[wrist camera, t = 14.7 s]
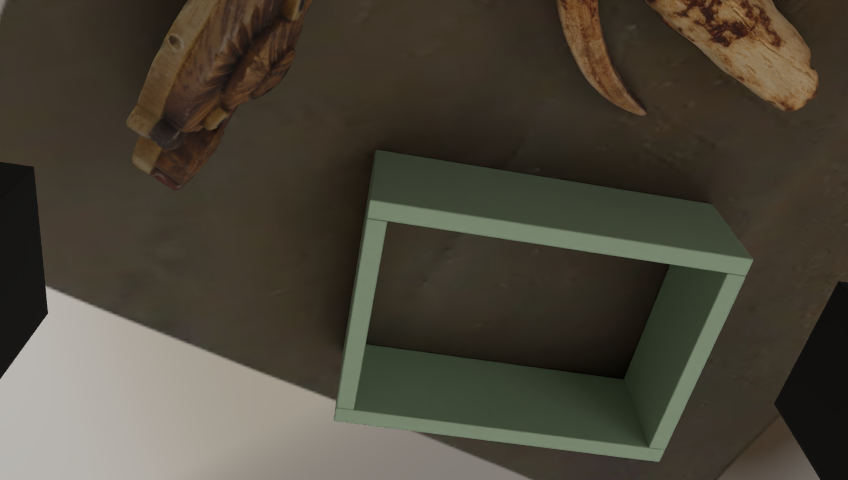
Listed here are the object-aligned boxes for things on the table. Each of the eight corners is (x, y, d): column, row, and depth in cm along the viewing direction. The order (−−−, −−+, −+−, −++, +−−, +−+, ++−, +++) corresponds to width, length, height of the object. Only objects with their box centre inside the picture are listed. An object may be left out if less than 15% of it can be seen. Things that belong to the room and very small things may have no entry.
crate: (375, 148, 40) (369, 199, 35) (712, 203, 42) (754, 259, 37) (342, 353, 47) (333, 421, 42) (633, 392, 49) (659, 462, 44)
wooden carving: (234, 169, 41) (185, 267, 32) (154, 128, 39) (80, 218, 31) (386, -119, 34) (375, -94, 25) (294, -179, 32) (249, -175, 24)
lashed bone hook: (440, -55, 35) (691, 171, 41) (438, -36, 31) (717, 212, 37) (584, -234, 32) (839, 42, 37) (604, -239, 28) (887, 72, 33)
